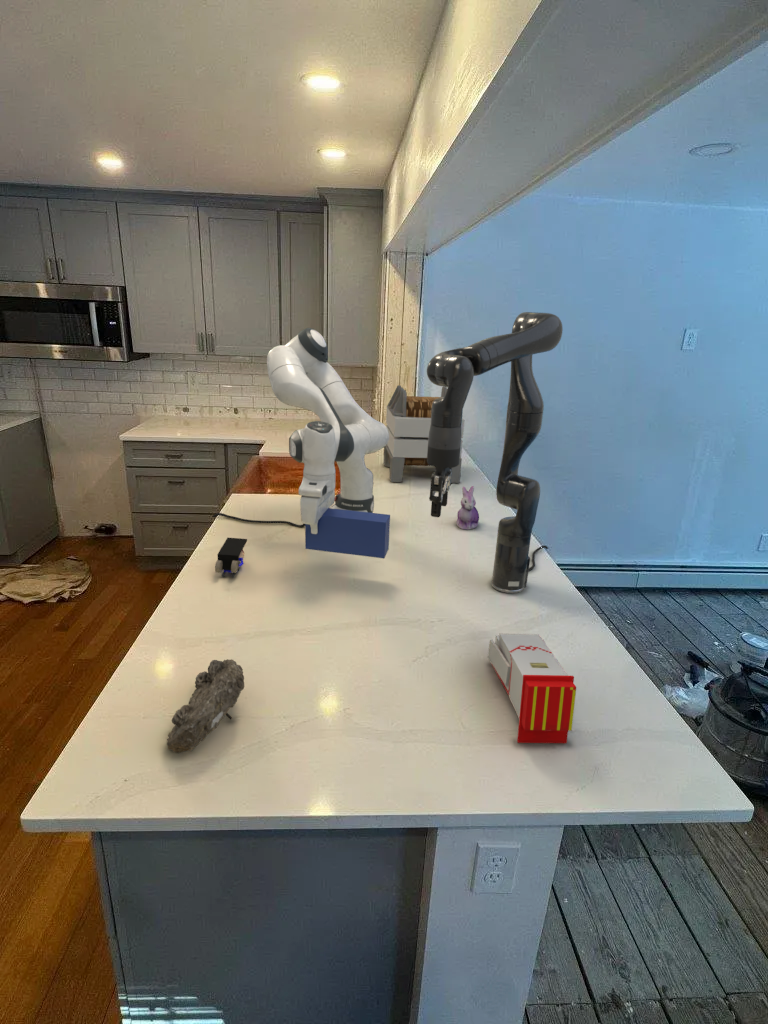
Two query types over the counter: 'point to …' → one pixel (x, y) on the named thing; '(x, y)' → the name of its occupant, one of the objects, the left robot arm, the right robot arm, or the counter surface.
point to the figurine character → (230, 556)
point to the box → (350, 533)
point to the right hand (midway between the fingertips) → (438, 510)
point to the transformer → (410, 433)
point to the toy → (534, 687)
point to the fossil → (206, 705)
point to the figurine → (468, 510)
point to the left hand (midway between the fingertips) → (319, 528)
